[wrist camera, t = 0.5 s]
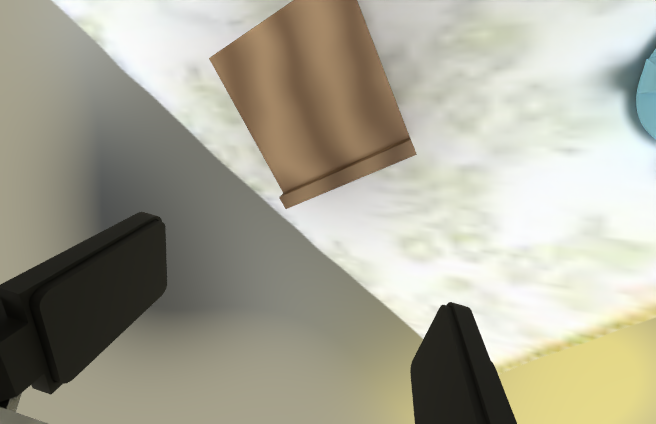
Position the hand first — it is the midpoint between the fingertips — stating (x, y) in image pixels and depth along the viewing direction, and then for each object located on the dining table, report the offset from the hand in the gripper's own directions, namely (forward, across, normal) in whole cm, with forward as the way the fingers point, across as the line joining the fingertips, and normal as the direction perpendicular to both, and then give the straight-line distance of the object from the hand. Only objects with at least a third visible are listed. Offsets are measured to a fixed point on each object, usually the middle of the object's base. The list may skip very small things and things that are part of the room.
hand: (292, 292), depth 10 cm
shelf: (+29, +5, -3) cm, 29 cm away
